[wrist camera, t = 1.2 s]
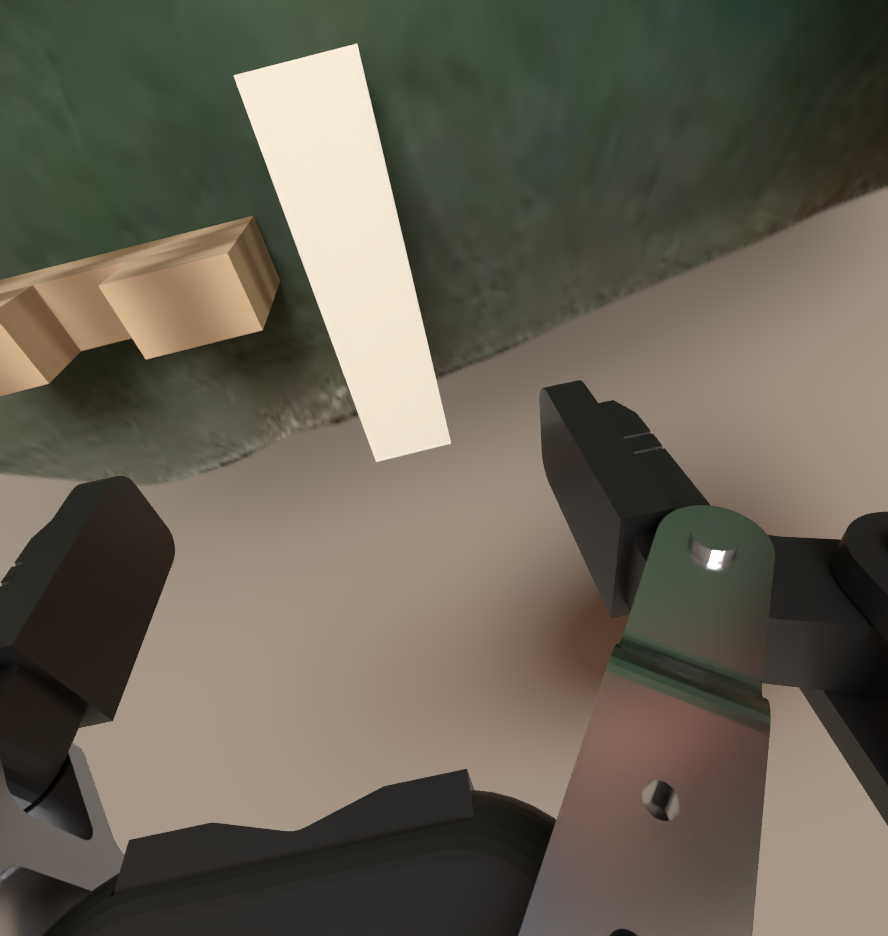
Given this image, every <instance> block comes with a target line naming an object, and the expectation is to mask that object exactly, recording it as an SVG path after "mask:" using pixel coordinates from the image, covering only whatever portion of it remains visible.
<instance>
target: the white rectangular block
mask: <svg viewBox="0 0 888 936" xmlns="http://www.w3.org/2000/svg"><path fill="white" fill-rule="evenodd" d="M234 78H235V81H236V84H237V86H238V89H239V92H240V95H241V97H242V100H243V103H244V105H245V108H246V111H247V114H248V116H249V119H250V122H251V124H252V127H253V130H254V132H255V135H256V138H257V141H258V143H259V146H260V149H261V151H262V154H263V157H264V160H265V162H266V165H267V168H268V170H269V173H270V176H271V179H272V181H273V184H274V187H275V189H276V192H277V195H278V197H279V200H280V203H281V206H282V208H283V211H284V214H285V216H286V219H287V222H288V225H289V227H290V230H291V233H292V235H293V238H294V241H295V244H296V246H297V249H298V252H299V254H300V257H301V260H302V262H303V265H304V268H305V271H306V273H307V276H308V279H309V281H310V284H311V287H312V290H313V292H314V295H315V298H316V300H317V303H318V306H319V309H320V311H321V314H322V317H323V319H324V322H325V325H326V327H327V330H328V333H329V336H330V338H331V341H332V344H333V346H334V349H335V352H336V355H337V357H338V360H339V363H340V365H341V368H342V371H343V374H344V376H345V379H346V382H347V384H348V387H349V390H350V392H351V395H352V398H353V401H354V403H355V406H356V409H357V411H358V414H359V417H360V420H361V422H362V425H363V427H364V430H365V433H366V436H367V438H368V441H369V444H370V447H371V449H372V452H373V455H374V457H375V460H376V462H378V461H382V460H386V459H390V458H395V457H398V456H403V455H407V454H410V453H415V452H418V451H423V450H427V449H431V448H435V447H439V446H443V445H448V444H451V441H450V436H449V432H448V428H447V424H446V419H445V415H444V411H443V407H442V402H441V398H440V394H439V389H438V386H437V381H436V377H435V372H434V368H433V364H432V360H431V355H430V351H429V347H428V343H427V338H426V334H425V330H424V326H423V321H422V317H421V313H420V309H419V304H418V300H417V296H416V292H415V287H414V283H413V279H412V275H411V270H410V266H409V262H408V258H407V253H406V249H405V245H404V241H403V236H402V232H401V228H400V224H399V219H398V215H397V211H396V207H395V202H394V198H393V194H392V190H391V185H390V181H389V177H388V173H387V168H386V164H385V160H384V156H383V151H382V147H381V143H380V139H379V134H378V130H377V126H376V122H375V117H374V113H373V109H372V105H371V100H370V96H369V92H368V88H367V83H366V79H365V75H364V71H363V66H362V62H361V58H360V54H359V49H358V45H357V44H354V45H350V46H346V47H342V48H338V49H334V50H330V51H327V52H323V53H319V54H315V55H311V56H307V57H303V58H299V59H296V60H292V61H288V62H284V63H280V64H276V65H272V66H268V67H265V68H261V69H257V70H253V71H249V72H245V73H241V74H237V75H234Z"/></svg>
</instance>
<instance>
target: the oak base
mask: <svg viewBox="0 0 888 936" xmlns="http://www.w3.org/2000/svg"><path fill="white" fill-rule="evenodd" d="M279 283H280V279H279V277H278V274H277V272H276V269H275V267H274V264H273V262H272V259H271V257H270V255H269V252H268V250H267V247H266V245H265V242H264V240H263V237H262V235H261V232H260V230H259V227H258V225H257V223H256V220H255V218H254V216H250V217H247V218H243V219H239V220H235V221H231V222H227V223H223V224H219V225H215V226H211V227H207V228H203V229H199V230H195V231H191V232H187V233H183V234H180V235H176V236H172V237H168V238H164V239H160V240H156V241H152V242H148V243H144V244H140V245H136V246H132V247H128V248H124V249H120V250H116V251H112V252H109V253H105V254H101V255H97V256H93V257H89V258H85V259H81V260H77V261H73V262H69V263H65V264H61V265H57V266H53V267H49V268H45V269H42V270H38V271H34V272H30V273H26V274H22V275H18V276H14V277H10V278H6V279H2V280H0V396H2V395H6V394H10V393H14V392H18V391H22V390H26V389H30V388H34V387H38V386H42V385H46V384H49V383H50V382H51V381H52V380H53V379H54V378H55V377H56V376H57V375H58V374H59V373H60V372H61V371H62V370H63V369H64V368H65V367H66V366H67V365H68V364H69V363H70V362H71V361H72V360H73V359H74V358H75V357H76V356H77V355H78V354H79V353H80V352H81V351H83V350H87V349H91V348H95V347H99V346H103V345H107V344H111V343H115V342H119V341H123V340H127V339H131V338H132V339H133V340H134V342H135V344H136V345H137V347H138V348H139V350H140V351H141V353H142V354H143V356H144V358H145V359H150V358H154V357H158V356H162V355H166V354H170V353H174V352H178V351H182V350H186V349H190V348H194V347H198V346H202V345H206V344H210V343H214V342H218V341H222V340H226V339H230V338H234V337H238V336H242V335H246V334H250V333H254V332H258V331H262V330H263V328H264V325H265V323H266V320H267V317H268V314H269V311H270V309H271V306H272V303H273V300H274V297H275V294H276V292H277V289H278V286H279Z"/></svg>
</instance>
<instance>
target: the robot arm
mask: <svg viewBox="0 0 888 936" xmlns="http://www.w3.org/2000/svg"><path fill="white" fill-rule="evenodd" d="M540 419H541V420H540V421H541V445H542V458H543V464H544V469H545V472H546V476H547V479H548V481H549V484H550V486H551V488H552V490H553V493H554V495H555V497H556V499H557V501H558V504H559V506H560V508H561V510H562V512H563V515H564V517H565V519H566V521H567V523H568V526H569V528H570V530H571V532H572V534H573V536H574V539H575V540H576V543H577V545H578V547H579V550H580V552H581V554H582V556H583V558H584V560H585V562H586V565H587V567H588V569H589V571H590V573H591V576H592V578H593V580H594V582H595V585H596V586H597V589H598V591H599V593H600V595H601V597H602V600H603V602H604V604H605V606H606V608H607V611H608V613H609V615H610V617H611V618H614V617H619V616H623V615H628V614H630V616H629V618H628V622H627V625H626V628H625V631H624V634H623V637H622V639H621V642H620V644H616V646H615V648H614V650H613V652H612V654H611V657H610V660H609V662H608V666H607V668H606V671H605V674H604V677H603V680H602V683H601V686H600V689H599V693H598V695H597V698H596V702H595V704H594V708H593V711H592V714H591V717H590V720H589V723H588V726H587V729H586V732H585V735H584V738H583V741H582V744H581V747H580V750H579V753H578V756H577V759H576V762H575V765H574V768H573V771H572V774H571V778H570V780H569V784H568V787H567V789H566V792H565V795H564V799H563V802H562V805H561V808H560V811H559V814H558V817H557V820H556V819H555V818H553V817H551V816H550V815H548V814H546V813H545V812H543V811H541V810H540V809H538V808H536V807H534V806H532V805H530V804H527V803H525V802H523V801H520V800H518V799H516V798H513V797H509V796H505V795H501V794H497V793H494V792H486V791H477V790H474V788H473V785H472V782H471V779H470V776H469V773H468V771H467V769H464V770H459V771H455V772H450V773H445V774H440V775H435V776H431V777H426V778H421V779H417V780H412V781H407V782H402V783H398V784H393V785H388V786H384V787H382V788H380V789H378V790H376V791H374V792H372V793H370V794H368V795H366V796H365V797H363V798H361V799H359V800H357V801H355V802H353V803H351V804H349V805H347V806H345V807H344V808H342V809H340V810H338V811H336V812H334V813H332V814H330V815H328V816H326V817H324V818H322V819H321V820H319V821H317V822H315V823H313V824H311V825H309V826H307V827H305V828H303V829H300V830H297V831H279V830H271V829H263V828H254V827H245V826H236V825H229V824H220V823H208V824H203V825H199V826H194V827H189V828H184V829H179V830H175V831H170V832H165V833H161V834H156V835H151V836H146V837H142V838H137V839H132V840H129V843H128V846H127V849H126V853H125V855H124V854H123V853H122V851H121V850H120V849H119V847H118V846H117V844H116V842H115V840H114V838H113V835H112V832H111V830H110V827H109V824H108V821H107V818H106V815H105V812H104V809H103V807H102V804H101V801H100V798H99V795H98V792H97V789H96V786H95V783H94V780H93V778H92V775H91V772H90V769H89V766H88V764H87V760H86V757H85V755H84V752H83V751H82V749H81V748H80V747H79V746H78V745H76V744H74V743H73V740H74V737H75V735H76V732H77V730H78V728H81V727H86V726H91V725H96V724H100V723H105V722H110V721H113V719H114V716H115V714H116V711H117V708H118V706H119V703H120V701H121V698H122V695H123V692H124V690H125V687H126V685H127V682H128V679H129V677H130V674H131V671H132V669H133V666H134V664H135V661H136V658H137V655H138V653H139V650H140V648H141V645H142V642H143V640H144V637H145V634H146V632H147V629H148V626H149V624H150V621H151V619H152V616H153V613H154V611H155V608H156V605H157V603H158V600H159V598H160V595H161V592H162V590H163V587H164V584H165V581H166V579H167V576H168V574H169V571H170V568H171V566H172V563H173V560H174V555H175V547H174V546H175V545H174V540H173V537H172V534H171V532H170V530H169V529H168V527H167V526H166V525H165V524H164V522H163V521H162V519H161V518H160V517H159V516H158V514H157V513H156V511H155V510H154V509H153V507H152V506H151V505H150V503H149V502H148V501H147V499H146V498H145V497H144V495H143V494H142V493H141V492H140V490H139V489H138V488H137V486H136V485H135V484H134V483H133V481H131V480H130V479H129V478H127V477H125V476H116V477H111V478H107V479H102V480H97V481H92V482H88V483H83V484H79V485H77V486H76V487H75V488H74V489H73V490H72V491H71V493H70V494H69V496H68V497H67V499H66V500H65V501H64V503H63V504H62V506H61V507H60V509H59V510H58V512H57V513H56V515H55V516H54V518H53V519H52V520H51V521H50V522H49V523H48V524H47V525H46V526H45V527H44V528H43V529H41V530H40V531H39V532H38V533H37V534H36V535H35V536H34V537H33V538H31V540H30V541H29V543H28V544H27V546H26V547H25V548H24V550H23V551H22V553H21V554H20V556H19V557H18V558H17V560H16V561H15V564H16V566H15V567H11V568H10V570H9V571H8V573H7V574H6V576H5V577H4V578H3V580H2V581H1V583H2V586H1V587H0V936H752V931H753V920H754V907H755V896H756V886H757V874H758V863H759V862H758V861H759V851H760V839H761V827H762V817H763V806H764V794H765V782H766V771H767V760H768V749H769V738H770V705H769V701H768V700H767V699H766V698H763V696H762V683H766V684H774V685H783V686H792V687H799V688H800V690H801V691H802V693H803V694H804V696H805V697H806V699H807V700H808V702H809V704H810V705H811V707H812V708H813V710H814V711H815V713H816V714H817V716H818V718H819V719H820V721H821V722H822V724H823V725H824V727H825V729H826V730H827V732H828V733H829V735H830V736H831V738H832V739H833V741H834V743H835V744H836V746H837V747H838V749H839V750H840V752H841V753H842V755H843V757H844V758H845V760H846V761H847V763H848V764H849V766H850V768H851V769H852V771H853V772H854V773H855V775H856V777H857V779H858V780H859V782H860V783H861V785H862V786H863V788H864V789H865V791H866V792H867V794H868V796H869V797H870V799H871V800H872V802H873V803H874V805H875V806H876V808H877V809H878V811H879V813H880V814H881V816H882V818H883V819H884V821H885V822H886V824H887V825H888V512H877V513H871V514H866V515H864V516H861V517H859V518H857V519H856V520H854V521H853V522H852V523H851V524H850V525H849V526H848V528H847V530H846V532H845V534H844V535H843V537H842V540H837V539H816V538H796V537H780V536H772V535H767V534H766V533H765V532H764V530H763V529H762V528H761V527H759V526H758V525H757V524H756V523H755V522H753V521H751V520H750V519H749V518H747V517H745V516H743V515H741V514H739V513H737V512H734V511H732V510H728V509H725V508H721V507H715V506H711V505H710V504H709V503H708V502H707V500H706V499H705V498H704V497H703V495H702V494H701V493H700V492H699V490H698V489H697V488H696V487H695V486H694V484H693V483H692V482H691V480H690V479H689V478H688V477H687V476H686V474H685V473H684V472H683V470H682V469H681V468H680V467H679V466H678V464H677V463H676V462H675V461H674V459H673V458H672V457H671V456H670V454H669V453H668V452H667V451H666V449H662V445H661V443H660V442H659V441H658V439H657V438H656V437H655V436H654V434H651V433H650V430H649V428H648V427H647V426H646V424H645V423H644V422H643V421H642V420H641V418H640V417H639V416H638V415H637V413H635V412H634V411H632V410H630V409H628V408H627V407H625V406H623V405H621V404H619V403H617V402H616V401H614V400H612V401H607V402H602V403H598V402H597V401H596V399H595V398H594V397H593V395H592V394H591V392H590V391H589V390H588V388H587V387H586V386H585V384H584V383H583V382H582V381H580V380H579V381H574V382H569V383H564V384H559V385H555V386H550V387H545V388H542V389H541V391H540Z"/></svg>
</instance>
